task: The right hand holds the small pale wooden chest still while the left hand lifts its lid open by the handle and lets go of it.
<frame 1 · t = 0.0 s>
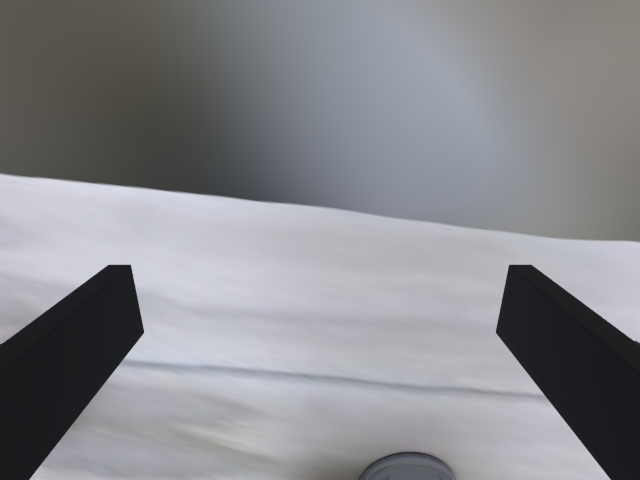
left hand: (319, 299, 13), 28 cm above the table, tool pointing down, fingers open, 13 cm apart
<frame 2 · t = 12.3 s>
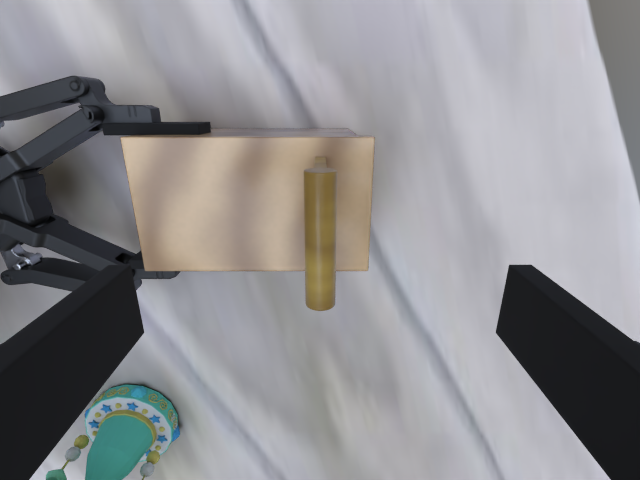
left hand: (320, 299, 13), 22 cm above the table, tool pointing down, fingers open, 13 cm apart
right hand: (212, 197, 27), fingers closed on chest, 9 cm apart
lid: (243, 222, 21), point 13 cm above the table, hinge at 0.0°
decorative hourglass: (137, 416, 43), on the table
chest: (265, 180, 33), on the table, touching right hand
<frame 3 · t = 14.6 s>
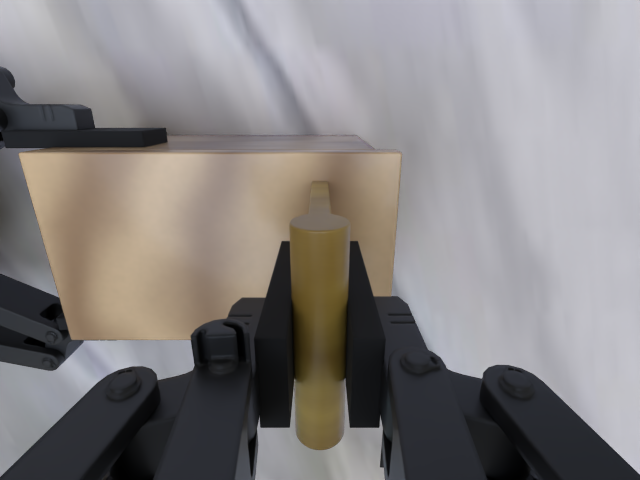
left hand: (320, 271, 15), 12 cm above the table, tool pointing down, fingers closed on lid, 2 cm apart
lid: (200, 285, 14), point 13 cm above the table, hinge at 0.1°, touching left hand
chest: (249, 202, 26), on the table, touching right hand
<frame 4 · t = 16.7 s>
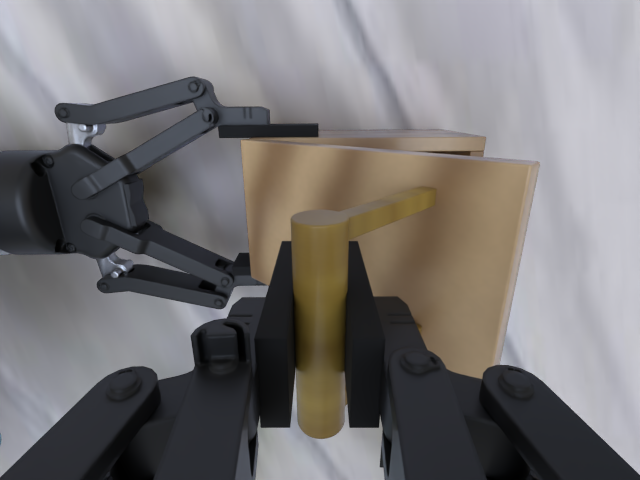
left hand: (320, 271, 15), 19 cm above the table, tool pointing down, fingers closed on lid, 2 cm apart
right hand: (318, 200, 26), fingers closed on chest, 9 cm apart
lid: (296, 259, 16), point 17 cm above the table, hinge at 43.7°, touching left hand
chest: (353, 183, 33), on the table, touching right hand
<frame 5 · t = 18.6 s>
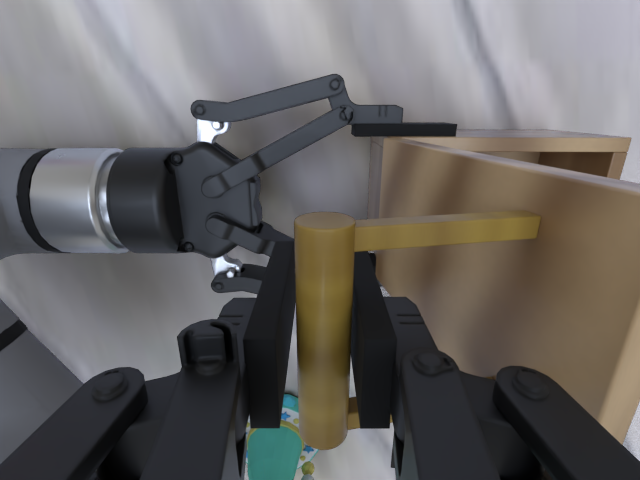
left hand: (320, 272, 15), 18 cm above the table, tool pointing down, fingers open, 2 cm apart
right hand: (440, 201, 26), fingers closed on chest, 9 cm apart
lid: (377, 265, 15), point 18 cm above the table, hinge at 78.6°
decorative hourglass: (278, 425, 42), on the table
chest: (453, 183, 32), on the table, touching right hand
when the right hand's fingers open (6 cm above the table, at t = 22.9 s): chest stays where it is, on the table.
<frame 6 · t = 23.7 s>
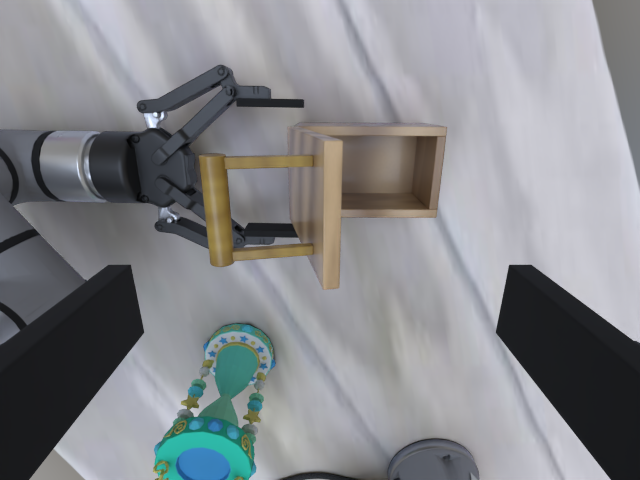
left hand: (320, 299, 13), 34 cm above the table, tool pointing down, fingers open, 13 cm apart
right hand: (303, 170, 39), fingers open, 13 cm apart
lid: (264, 193, 28), point 18 cm above the table, hinge at 77.8°
decorative hourglass: (241, 350, 55), on the table
chest: (359, 162, 45), on the table
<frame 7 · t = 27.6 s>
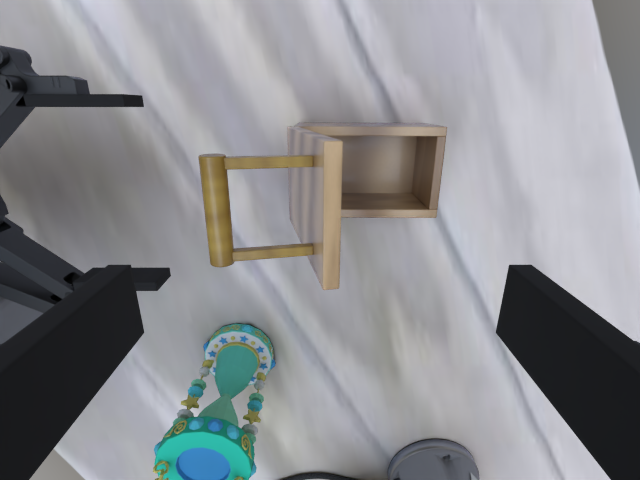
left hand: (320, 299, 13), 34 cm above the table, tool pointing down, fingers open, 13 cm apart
lid: (264, 193, 28), point 18 cm above the table, hinge at 77.8°
decorative hourglass: (241, 350, 55), on the table
chest: (359, 162, 45), on the table
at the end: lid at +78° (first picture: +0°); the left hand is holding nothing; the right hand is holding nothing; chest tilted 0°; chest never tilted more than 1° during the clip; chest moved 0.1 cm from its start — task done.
